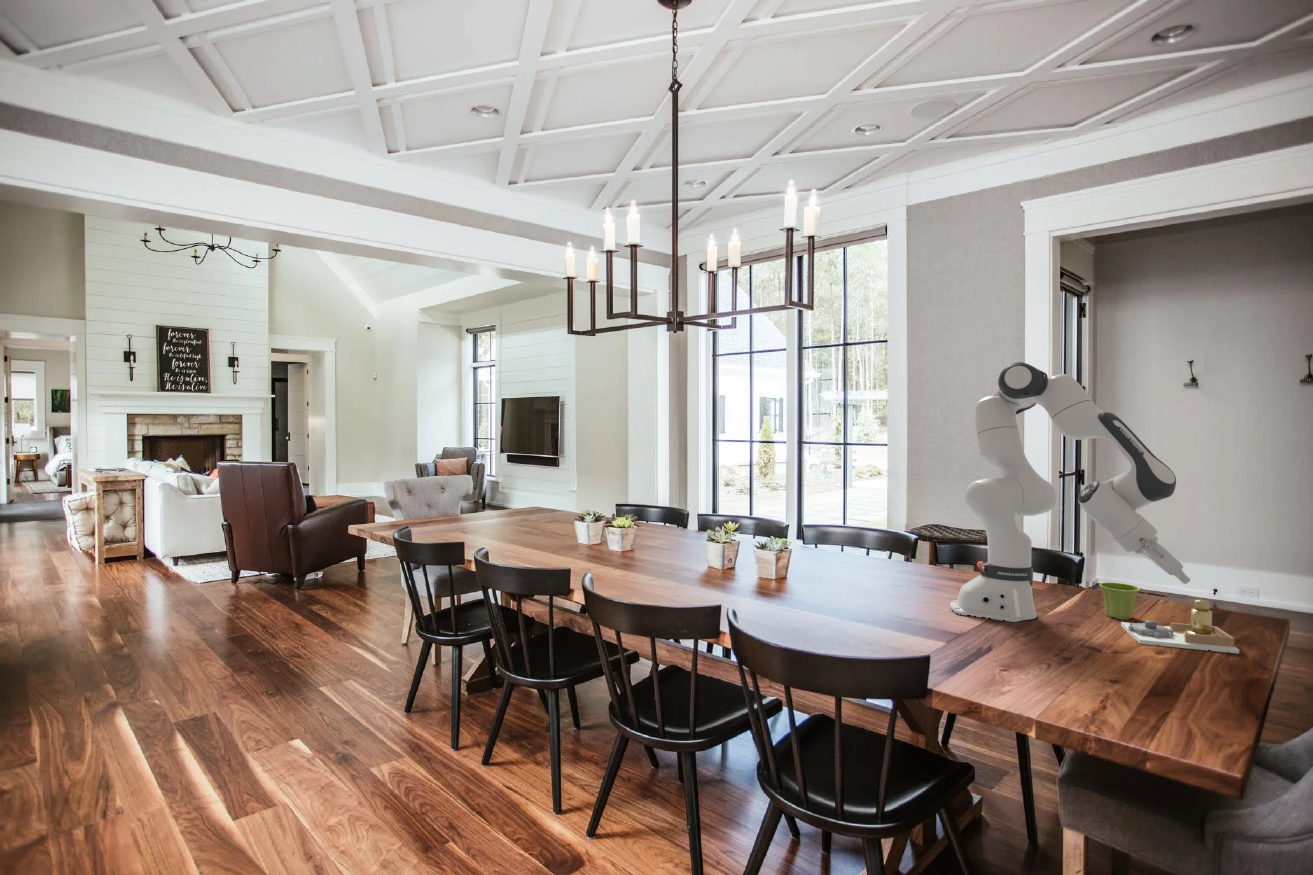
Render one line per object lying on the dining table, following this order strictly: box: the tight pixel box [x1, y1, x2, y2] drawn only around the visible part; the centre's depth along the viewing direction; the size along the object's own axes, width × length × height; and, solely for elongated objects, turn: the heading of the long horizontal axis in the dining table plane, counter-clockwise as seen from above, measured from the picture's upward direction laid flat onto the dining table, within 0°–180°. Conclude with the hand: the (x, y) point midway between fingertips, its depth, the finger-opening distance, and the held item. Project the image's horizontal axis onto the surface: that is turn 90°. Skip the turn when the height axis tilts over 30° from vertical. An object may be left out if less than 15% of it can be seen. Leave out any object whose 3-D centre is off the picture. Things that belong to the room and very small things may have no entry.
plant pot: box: [1099, 582, 1141, 620], centre depth 193 cm, size 9×9×9 cm
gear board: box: [1120, 619, 1240, 654], centre depth 173 cm, size 20×16×4 cm
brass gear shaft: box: [1184, 599, 1219, 637], centre depth 170 cm, size 7×6×9 cm
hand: (1180, 577), depth 172 cm, fingers open, 8 cm apart
